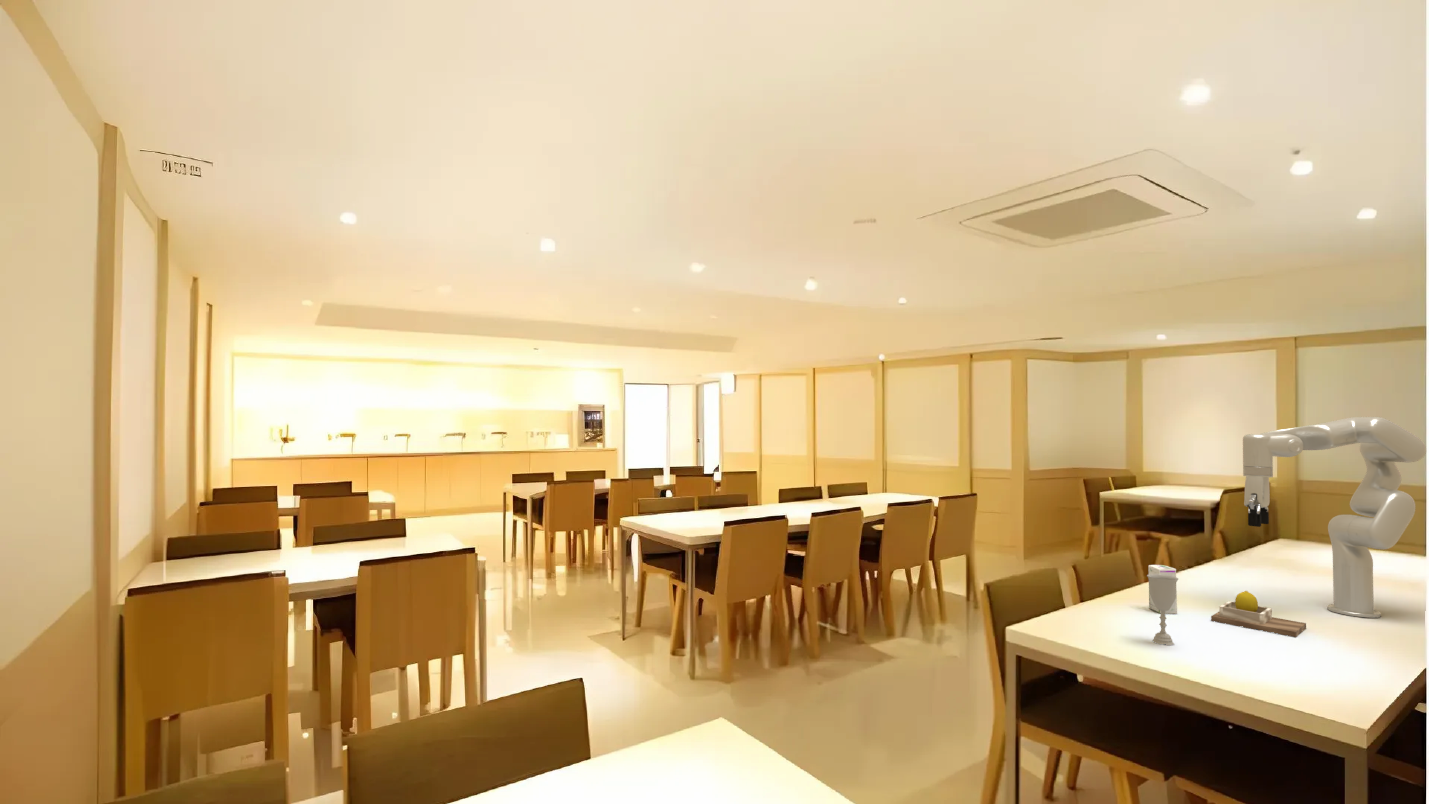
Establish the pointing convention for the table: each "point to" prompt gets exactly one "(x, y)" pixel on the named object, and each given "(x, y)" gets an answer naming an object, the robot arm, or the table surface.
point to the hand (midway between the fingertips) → (1258, 524)
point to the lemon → (1246, 602)
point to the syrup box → (1163, 571)
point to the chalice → (1162, 601)
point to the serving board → (1257, 620)
